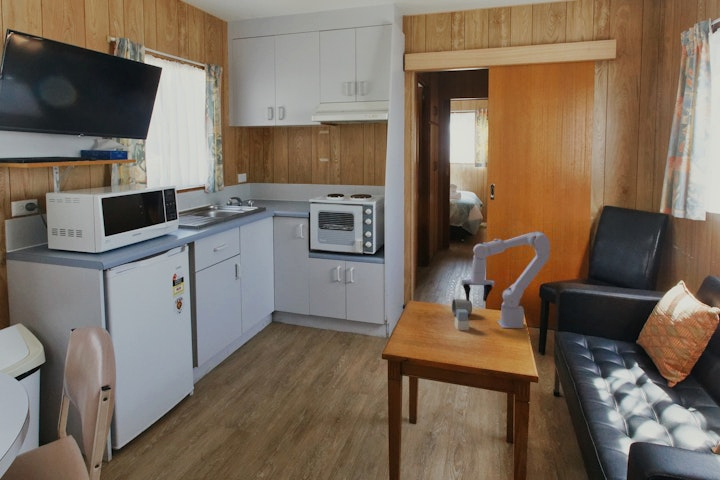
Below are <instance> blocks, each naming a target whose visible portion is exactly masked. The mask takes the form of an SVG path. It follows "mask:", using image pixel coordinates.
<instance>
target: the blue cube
mask: <svg viewBox="0 0 720 480" xmlns="http://www.w3.org/2000/svg"><path fill="white" fill-rule="evenodd" d="M455 316H456V317H455V318H457V320H458V321H467V320H469V319H468V317H469V315H468V312H467V310H466V309H457V312H456V315H455Z"/></svg>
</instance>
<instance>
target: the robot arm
mask: <svg viewBox="0 0 720 480" xmlns="http://www.w3.org/2000/svg"><path fill="white" fill-rule="evenodd" d="M521 245H526V246H529V247H533V248H534V251H535V256H534V257H533V258H532V260H531V261H530V262H529V263H528V265H527V266H526V268H525V269H524V270H523V271H522V273H521V274H520V276H519V277H518V278H517V279H516V280H515V282H514V283H513V284H510V286H509V287H508V288H506V289H504V290H503V292H502V293H501V294H502V295H501V296H502V300H503V302H502V303H501V307H500V308H501V310H500V319H499V320H497V321H496V322H497V323H498V324H499V326H500V327H501V328H502V329H523V328H525V327H524V319H525V318H524V317H525V310H524V307H523V306H522V305H520V301H521V299H522V298H523V294H524V291H525V290H526V289H527V287H528V286H529V285H530V283H531V282H532V281H533V280H534V279H535V278H536V276H537V275H538V273H539V272H540V271H541V270H542V269H543V267H544V266H545V265H546V263H547V261H549V259H550V252H551V251H550V250H551V242H550V239H549V237H548V236H546V235H545V233H544V232H543V231H540V230H537V231H534V232H528V233H525V234H522V235H518V236H516V237H512V238H509V239H505V240H502V239H501V238H494V239H493V240H492V241H489V242H486V241H484V242H482V243H477V244H475V246H473V249H472V252H473V259H472V265H471V266H472V268H471V277H470V278H469V279H461V280H460V285H461V286H462V287H463V289H464V292H465V298H466V299H465V300H467V301H469V300H470V294H471V286H483V296H482V300H483V302H486V303H487V299H488V296H489V294H490V293H491V292H492V290H493V287H495V281H494V280H492V279H491V280H489V279H485V277H486V268H487V267H486V266H487V257H488V256H493V255H496V254H501V253H504V252H505V250H506V249H508V248H512V247H517V246H521Z"/></svg>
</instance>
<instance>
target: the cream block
mask: <svg viewBox="0 0 720 480" xmlns="http://www.w3.org/2000/svg"><path fill="white" fill-rule="evenodd" d="M454 327H455V329H456V331H469V330H470V320H469V319H468V320H467V321H458V320H457V318H456V317H454Z"/></svg>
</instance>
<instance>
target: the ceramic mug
mask: <svg viewBox="0 0 720 480" xmlns="http://www.w3.org/2000/svg"><path fill="white" fill-rule="evenodd" d="M457 309H466V310H467V312H468V316H469V315H471V314H472V312H473V311H472V310H473V304H472V301H471V300H470V299H469V301H467V300H466V299H462V298H453V299H452V301H451V313H452V315H453V316H456V312H457Z"/></svg>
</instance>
